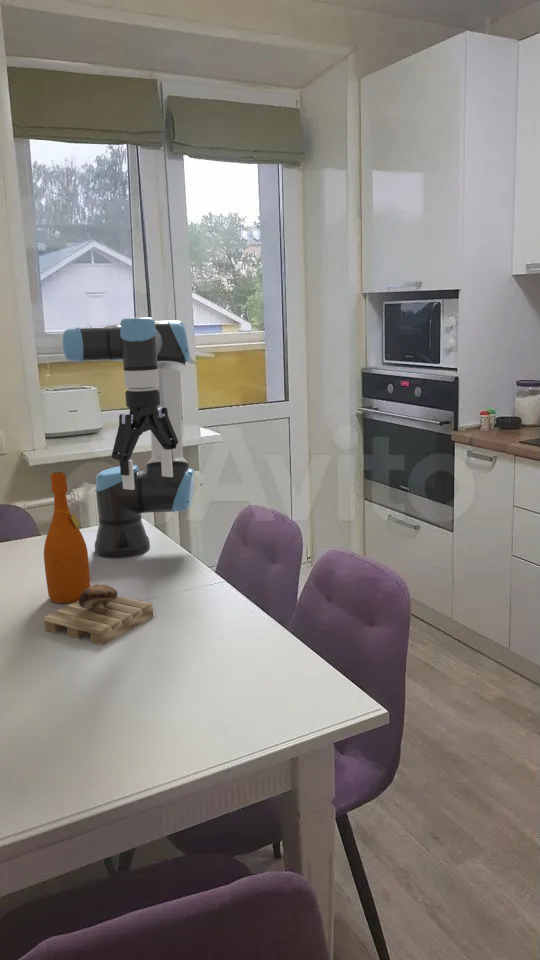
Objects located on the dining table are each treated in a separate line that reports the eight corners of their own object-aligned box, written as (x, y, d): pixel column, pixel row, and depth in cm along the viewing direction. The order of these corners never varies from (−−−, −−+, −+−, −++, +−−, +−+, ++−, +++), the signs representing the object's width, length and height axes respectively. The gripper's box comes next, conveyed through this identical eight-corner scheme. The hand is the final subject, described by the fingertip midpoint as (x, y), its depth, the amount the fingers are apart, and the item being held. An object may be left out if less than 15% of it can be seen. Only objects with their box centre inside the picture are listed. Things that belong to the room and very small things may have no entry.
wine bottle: (66, 608, 167) (53, 478, 161) (39, 599, 173) (25, 474, 167) (100, 594, 175) (89, 470, 168) (73, 586, 181) (61, 466, 174)
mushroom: (111, 604, 152) (103, 576, 154) (77, 619, 153) (69, 591, 155) (127, 608, 160) (119, 581, 162) (94, 622, 160) (86, 595, 162)
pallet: (98, 603, 170) (97, 591, 169) (153, 616, 162) (152, 603, 161) (45, 630, 156) (43, 616, 156) (102, 645, 148) (101, 631, 147)
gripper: (164, 383, 176) (169, 470, 181) (89, 394, 156) (98, 493, 160) (189, 383, 173) (194, 472, 177) (116, 395, 152) (124, 496, 156)
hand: (148, 482), depth 169 cm, fingers open, 13 cm apart
